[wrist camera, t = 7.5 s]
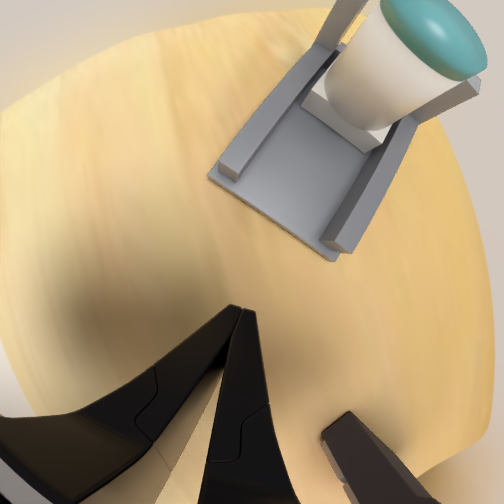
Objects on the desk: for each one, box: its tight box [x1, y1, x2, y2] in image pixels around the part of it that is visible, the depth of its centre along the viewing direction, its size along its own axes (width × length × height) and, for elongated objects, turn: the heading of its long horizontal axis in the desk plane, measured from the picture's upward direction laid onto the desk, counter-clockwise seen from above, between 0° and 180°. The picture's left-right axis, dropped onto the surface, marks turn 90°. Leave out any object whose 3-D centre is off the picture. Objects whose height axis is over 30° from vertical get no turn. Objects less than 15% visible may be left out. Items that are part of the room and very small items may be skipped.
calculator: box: [320, 412, 441, 504], centre depth 11 cm, size 11×4×15 cm, turn 41°
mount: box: [208, 0, 481, 262], centre depth 13 cm, size 12×9×9 cm
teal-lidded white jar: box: [301, 0, 487, 153], centre depth 11 cm, size 5×5×10 cm
